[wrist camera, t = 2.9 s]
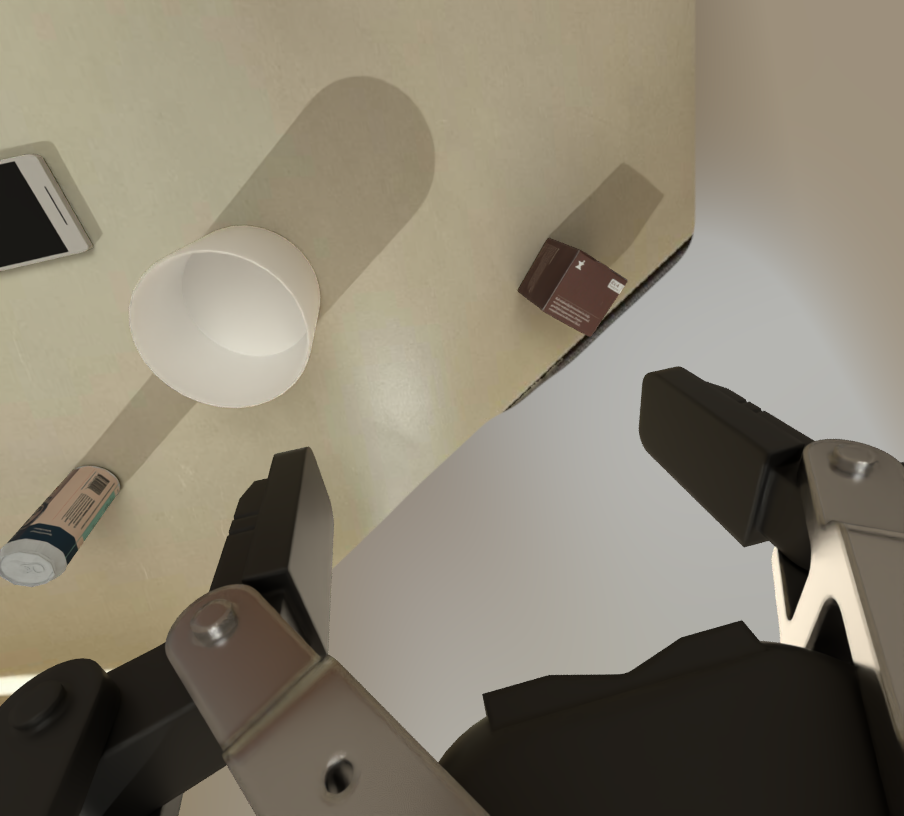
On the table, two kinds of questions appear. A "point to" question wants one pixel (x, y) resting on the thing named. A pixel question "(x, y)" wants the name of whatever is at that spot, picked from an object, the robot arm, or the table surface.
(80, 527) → the beer can
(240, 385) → the cup
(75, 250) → the smartphone
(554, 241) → the box
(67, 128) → the table surface
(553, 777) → the robot arm
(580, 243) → the table surface
